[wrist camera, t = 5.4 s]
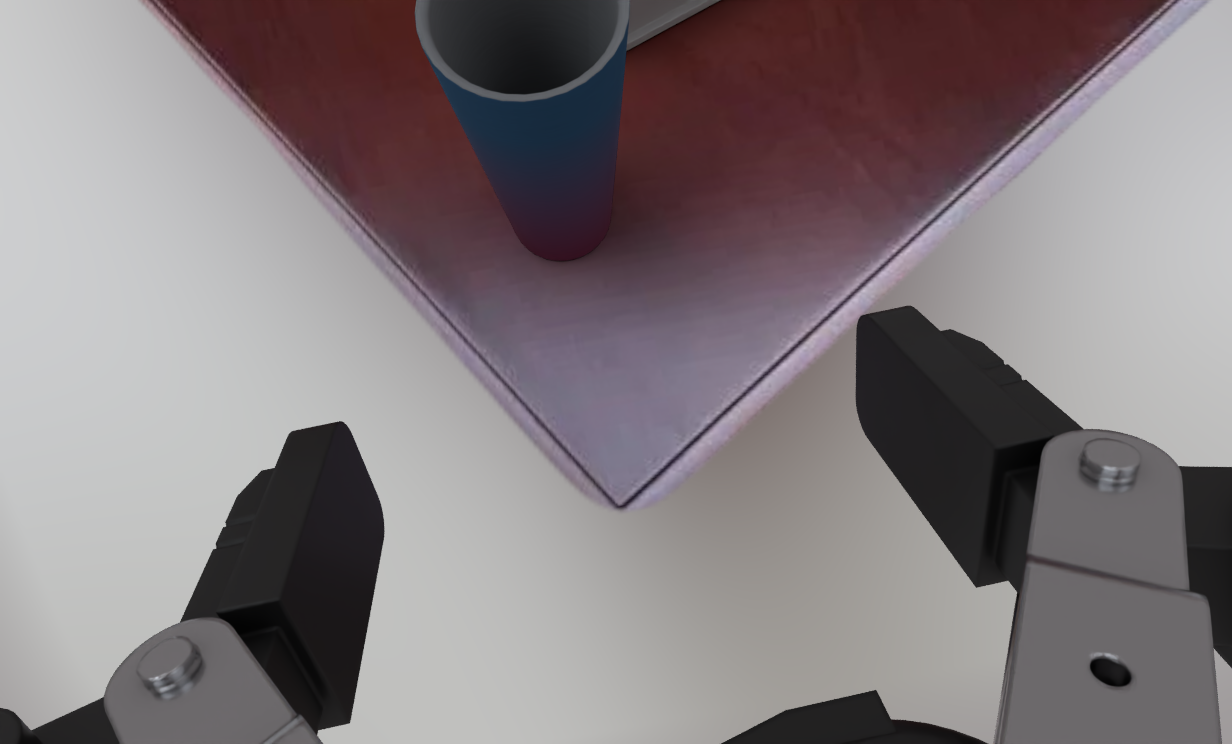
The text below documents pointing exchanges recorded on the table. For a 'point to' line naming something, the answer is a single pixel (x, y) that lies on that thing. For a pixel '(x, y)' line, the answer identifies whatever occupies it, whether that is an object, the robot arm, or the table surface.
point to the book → (659, 16)
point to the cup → (537, 107)
